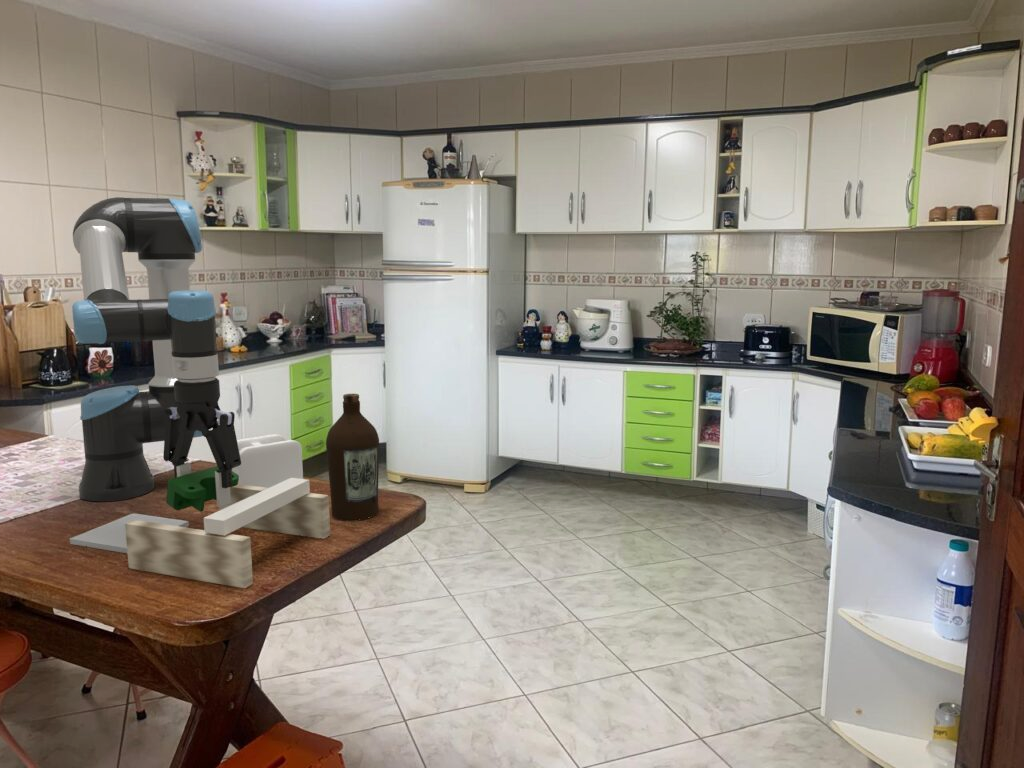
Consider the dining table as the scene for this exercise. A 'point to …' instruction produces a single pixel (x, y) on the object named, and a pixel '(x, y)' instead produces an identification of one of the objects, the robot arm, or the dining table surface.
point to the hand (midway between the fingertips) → (204, 501)
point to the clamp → (194, 489)
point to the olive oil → (353, 463)
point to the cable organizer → (268, 460)
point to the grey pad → (118, 532)
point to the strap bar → (255, 506)
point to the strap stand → (220, 541)
